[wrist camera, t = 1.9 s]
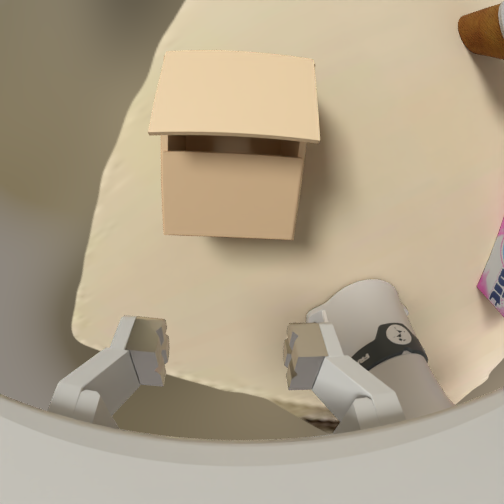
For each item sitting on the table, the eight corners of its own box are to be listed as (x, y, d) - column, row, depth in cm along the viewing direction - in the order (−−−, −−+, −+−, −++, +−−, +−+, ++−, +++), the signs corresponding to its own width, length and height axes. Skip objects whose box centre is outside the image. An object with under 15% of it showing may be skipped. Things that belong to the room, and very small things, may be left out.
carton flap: (317, 143, 19) (320, 140, 19) (149, 135, 18) (148, 132, 18) (312, 63, 20) (313, 59, 19) (167, 55, 19) (166, 51, 18)
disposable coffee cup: (492, 72, 26) (550, 81, 16) (450, 52, 26) (512, 53, 16) (490, 20, 22) (545, 19, 11) (447, -4, 21) (503, -16, 11)
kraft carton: (279, 202, 36) (294, 242, 27) (181, 198, 36) (162, 237, 26) (292, 72, 29) (316, 63, 20) (184, 66, 28) (162, 54, 19)
